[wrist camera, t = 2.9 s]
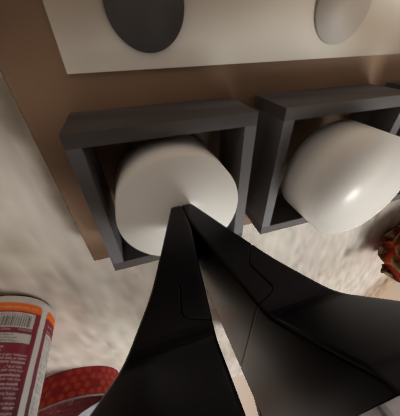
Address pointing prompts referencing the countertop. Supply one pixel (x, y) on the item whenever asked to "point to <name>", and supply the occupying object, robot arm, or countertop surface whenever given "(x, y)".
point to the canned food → (75, 391)
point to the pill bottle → (23, 353)
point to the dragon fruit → (391, 254)
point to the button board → (194, 91)
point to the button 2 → (169, 188)
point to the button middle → (343, 175)
